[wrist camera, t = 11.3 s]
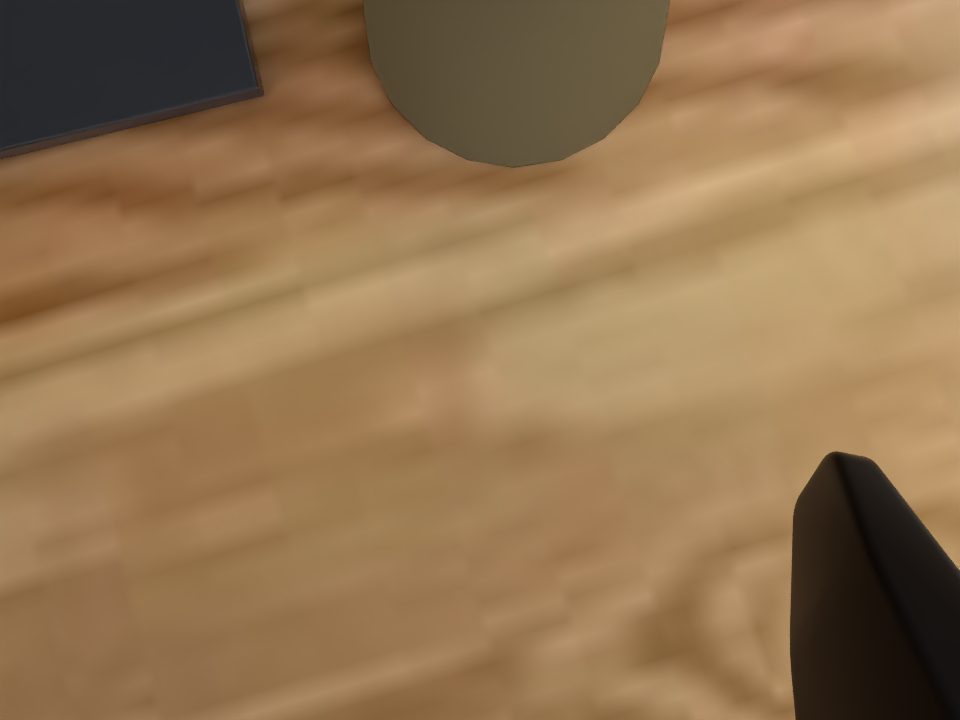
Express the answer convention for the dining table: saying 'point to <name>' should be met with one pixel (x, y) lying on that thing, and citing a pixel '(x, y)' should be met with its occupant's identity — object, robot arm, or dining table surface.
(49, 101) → the slate coaster
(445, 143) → the brown game pawn
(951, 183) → the dining table surface
